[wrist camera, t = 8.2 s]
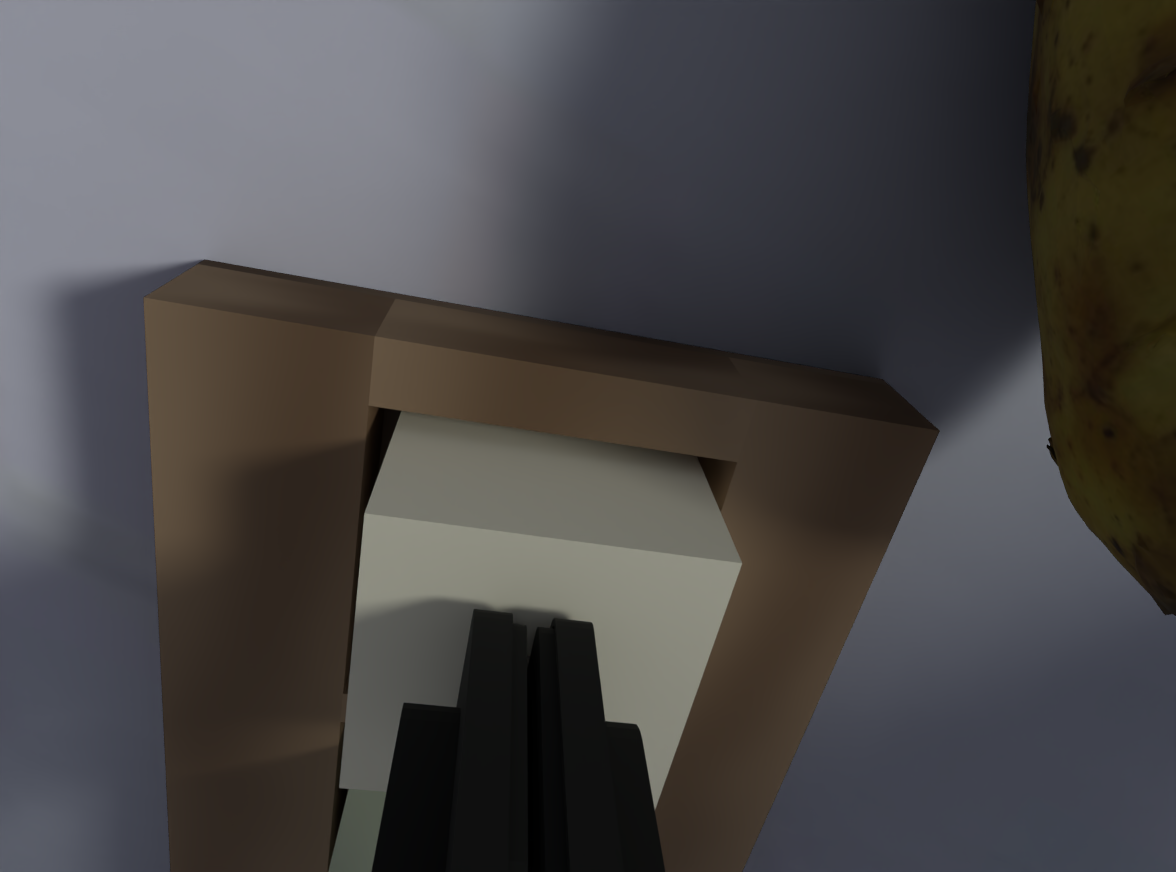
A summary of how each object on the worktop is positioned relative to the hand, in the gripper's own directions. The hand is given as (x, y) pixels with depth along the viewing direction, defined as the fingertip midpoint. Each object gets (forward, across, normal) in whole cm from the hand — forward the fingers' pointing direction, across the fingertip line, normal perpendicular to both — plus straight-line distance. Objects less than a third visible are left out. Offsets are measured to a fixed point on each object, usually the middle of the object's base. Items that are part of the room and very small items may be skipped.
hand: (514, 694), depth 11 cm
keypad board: (+5, 0, +6) cm, 8 cm away
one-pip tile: (+4, 0, 0) cm, 4 cm away
